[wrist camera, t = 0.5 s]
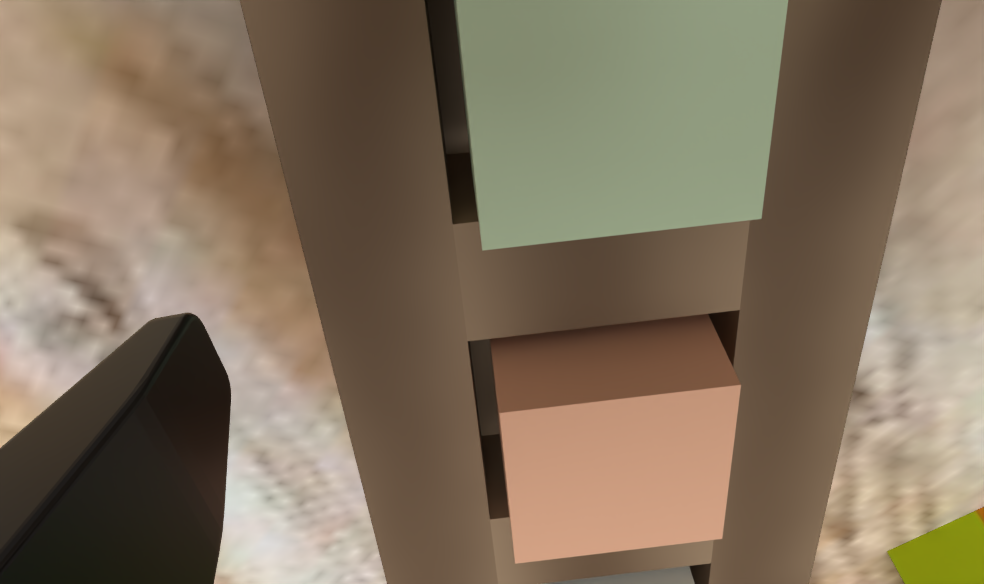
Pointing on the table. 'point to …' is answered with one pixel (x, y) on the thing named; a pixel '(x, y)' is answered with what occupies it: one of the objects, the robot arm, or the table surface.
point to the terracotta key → (615, 436)
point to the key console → (580, 277)
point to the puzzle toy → (944, 554)
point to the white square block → (641, 577)
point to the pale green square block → (617, 114)
